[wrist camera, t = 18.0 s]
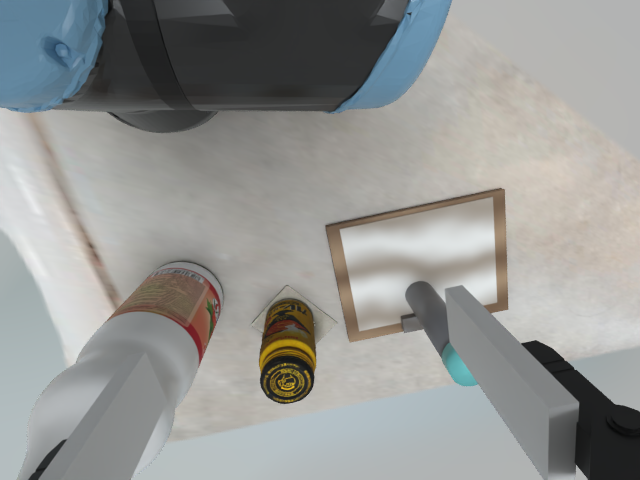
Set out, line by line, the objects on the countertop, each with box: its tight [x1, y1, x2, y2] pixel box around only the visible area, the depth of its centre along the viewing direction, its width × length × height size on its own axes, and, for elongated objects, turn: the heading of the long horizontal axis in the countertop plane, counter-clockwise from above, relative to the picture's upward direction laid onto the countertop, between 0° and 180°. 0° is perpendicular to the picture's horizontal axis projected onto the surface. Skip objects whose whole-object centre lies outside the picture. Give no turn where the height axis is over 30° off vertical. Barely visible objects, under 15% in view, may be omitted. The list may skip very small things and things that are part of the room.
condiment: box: [251, 286, 337, 404], centre depth 40 cm, size 7×8×12 cm
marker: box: [405, 281, 478, 386], centre depth 37 cm, size 4×4×14 cm
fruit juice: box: [17, 262, 223, 480], centre depth 30 cm, size 9×9×28 cm
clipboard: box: [326, 189, 508, 342], centre depth 43 cm, size 16×21×2 cm
